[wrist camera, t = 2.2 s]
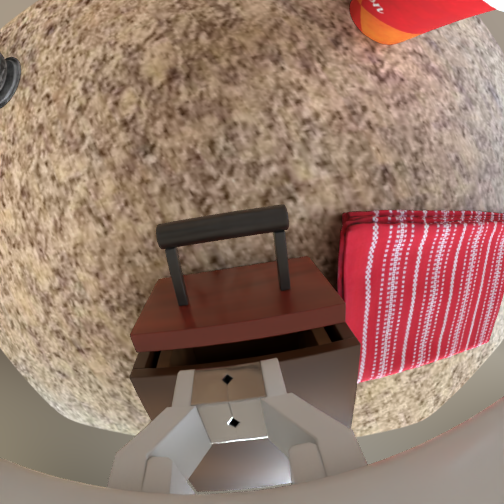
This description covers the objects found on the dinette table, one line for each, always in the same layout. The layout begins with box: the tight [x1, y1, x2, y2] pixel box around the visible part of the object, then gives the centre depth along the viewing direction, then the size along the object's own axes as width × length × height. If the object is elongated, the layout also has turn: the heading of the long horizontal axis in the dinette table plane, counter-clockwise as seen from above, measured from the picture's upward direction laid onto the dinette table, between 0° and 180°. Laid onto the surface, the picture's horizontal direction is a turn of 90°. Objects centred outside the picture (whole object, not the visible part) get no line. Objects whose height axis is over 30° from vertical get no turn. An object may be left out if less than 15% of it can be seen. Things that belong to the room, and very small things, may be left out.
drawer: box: [130, 205, 346, 368], centre depth 19 cm, size 18×11×8 cm, turn 8°
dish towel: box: [337, 210, 504, 383], centre depth 24 cm, size 17×24×3 cm
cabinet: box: [130, 322, 361, 492], centre depth 21 cm, size 15×13×10 cm
